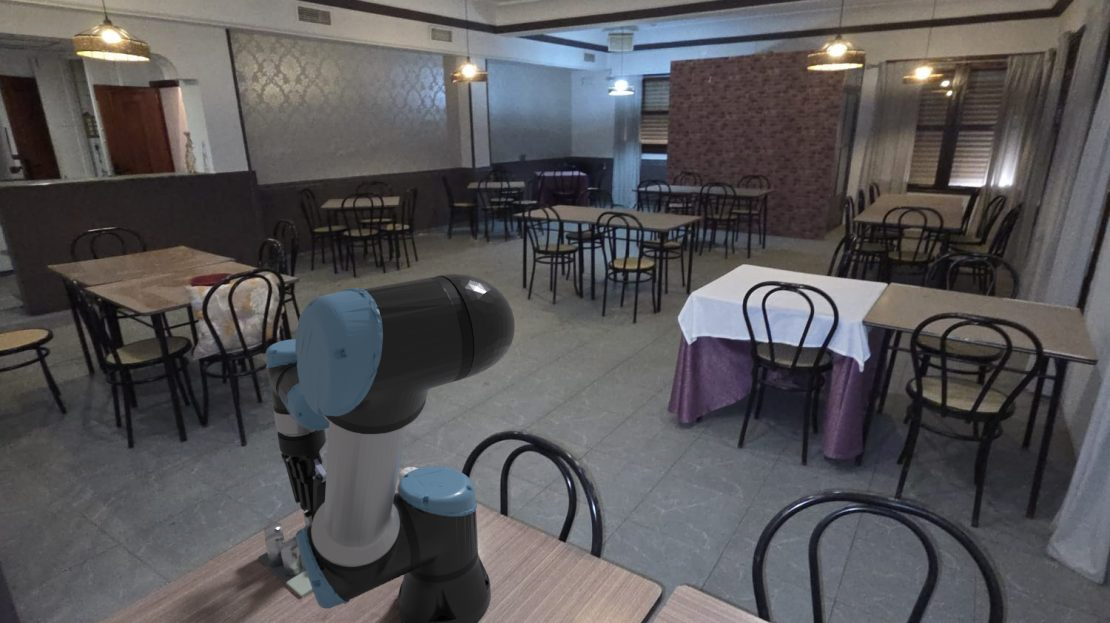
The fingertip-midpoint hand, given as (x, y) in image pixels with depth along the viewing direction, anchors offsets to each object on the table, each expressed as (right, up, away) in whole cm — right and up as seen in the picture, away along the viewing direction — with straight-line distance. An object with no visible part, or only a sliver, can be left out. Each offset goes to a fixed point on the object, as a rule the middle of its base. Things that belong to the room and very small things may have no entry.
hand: (316, 539), depth 109 cm
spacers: (-1, -2, +1) cm, 2 cm away
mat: (+1, -3, 0) cm, 3 cm away
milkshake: (+15, +1, +13) cm, 20 cm away
